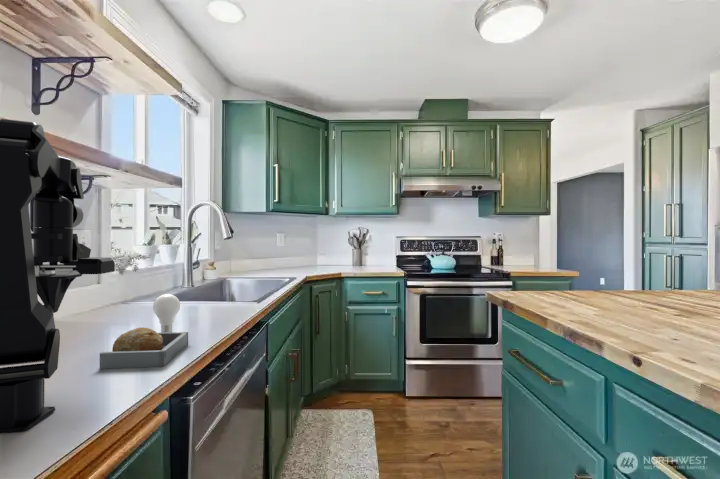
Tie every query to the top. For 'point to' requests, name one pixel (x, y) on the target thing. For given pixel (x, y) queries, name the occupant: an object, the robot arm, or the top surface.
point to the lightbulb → (166, 310)
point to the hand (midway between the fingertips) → (53, 312)
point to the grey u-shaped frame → (147, 353)
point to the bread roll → (138, 341)
